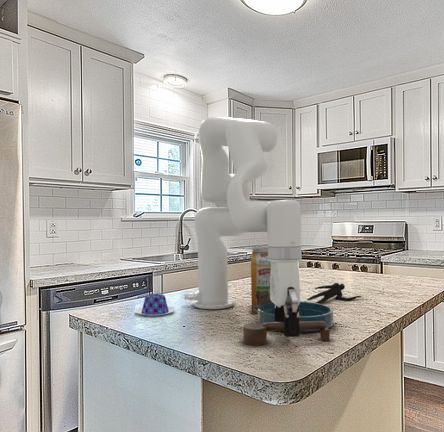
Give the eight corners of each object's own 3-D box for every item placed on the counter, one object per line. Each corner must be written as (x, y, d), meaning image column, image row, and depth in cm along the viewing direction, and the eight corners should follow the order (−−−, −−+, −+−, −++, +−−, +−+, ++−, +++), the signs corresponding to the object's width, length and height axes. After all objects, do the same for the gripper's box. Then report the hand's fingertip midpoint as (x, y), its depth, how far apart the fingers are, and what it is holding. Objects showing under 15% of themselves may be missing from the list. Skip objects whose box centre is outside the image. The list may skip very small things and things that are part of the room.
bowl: (265, 334, 99) (265, 318, 99) (253, 315, 118) (252, 301, 118) (344, 332, 99) (344, 316, 99) (319, 314, 119) (318, 300, 119)
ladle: (245, 345, 90) (244, 326, 90) (242, 339, 96) (241, 320, 96) (332, 343, 91) (332, 323, 91) (324, 336, 96) (324, 318, 96)
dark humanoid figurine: (325, 287, 123) (359, 273, 142) (301, 293, 129) (336, 278, 147) (334, 314, 122) (367, 296, 140) (309, 318, 128) (344, 300, 146)
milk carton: (288, 306, 130) (287, 246, 130) (288, 314, 119) (287, 248, 119) (255, 305, 132) (254, 246, 132) (251, 313, 121) (250, 248, 122)
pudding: (152, 319, 115) (152, 300, 115) (126, 313, 124) (126, 295, 124) (183, 312, 124) (183, 294, 124) (157, 306, 132) (157, 290, 132)
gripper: (261, 252, 102) (263, 321, 102) (276, 258, 85) (278, 341, 84) (291, 251, 102) (293, 320, 102) (312, 257, 85) (314, 340, 85)
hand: (286, 330), depth 93 cm, fingers open, 9 cm apart
